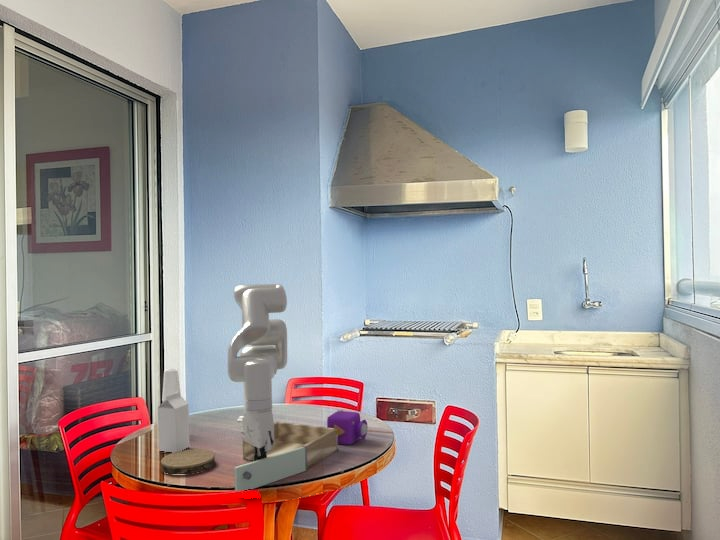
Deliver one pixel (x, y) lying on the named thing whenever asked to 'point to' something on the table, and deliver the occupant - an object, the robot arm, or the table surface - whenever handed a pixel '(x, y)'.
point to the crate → (300, 441)
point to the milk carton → (173, 424)
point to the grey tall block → (170, 383)
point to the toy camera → (347, 426)
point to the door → (270, 469)
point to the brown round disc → (188, 461)
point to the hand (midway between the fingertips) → (260, 468)
